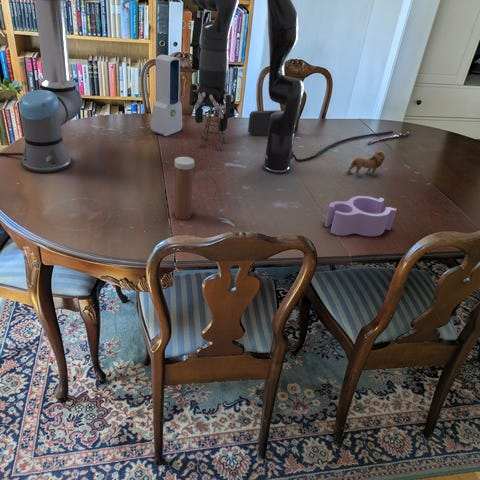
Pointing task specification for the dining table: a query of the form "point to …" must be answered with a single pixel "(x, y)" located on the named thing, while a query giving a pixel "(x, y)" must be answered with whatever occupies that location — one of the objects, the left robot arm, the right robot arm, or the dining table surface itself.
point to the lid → (184, 163)
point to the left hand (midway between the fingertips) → (200, 65)
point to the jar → (183, 193)
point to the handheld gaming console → (263, 122)
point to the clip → (359, 216)
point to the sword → (386, 138)
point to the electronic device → (167, 97)
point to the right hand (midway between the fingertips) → (210, 126)
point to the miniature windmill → (212, 125)
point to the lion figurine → (368, 163)
